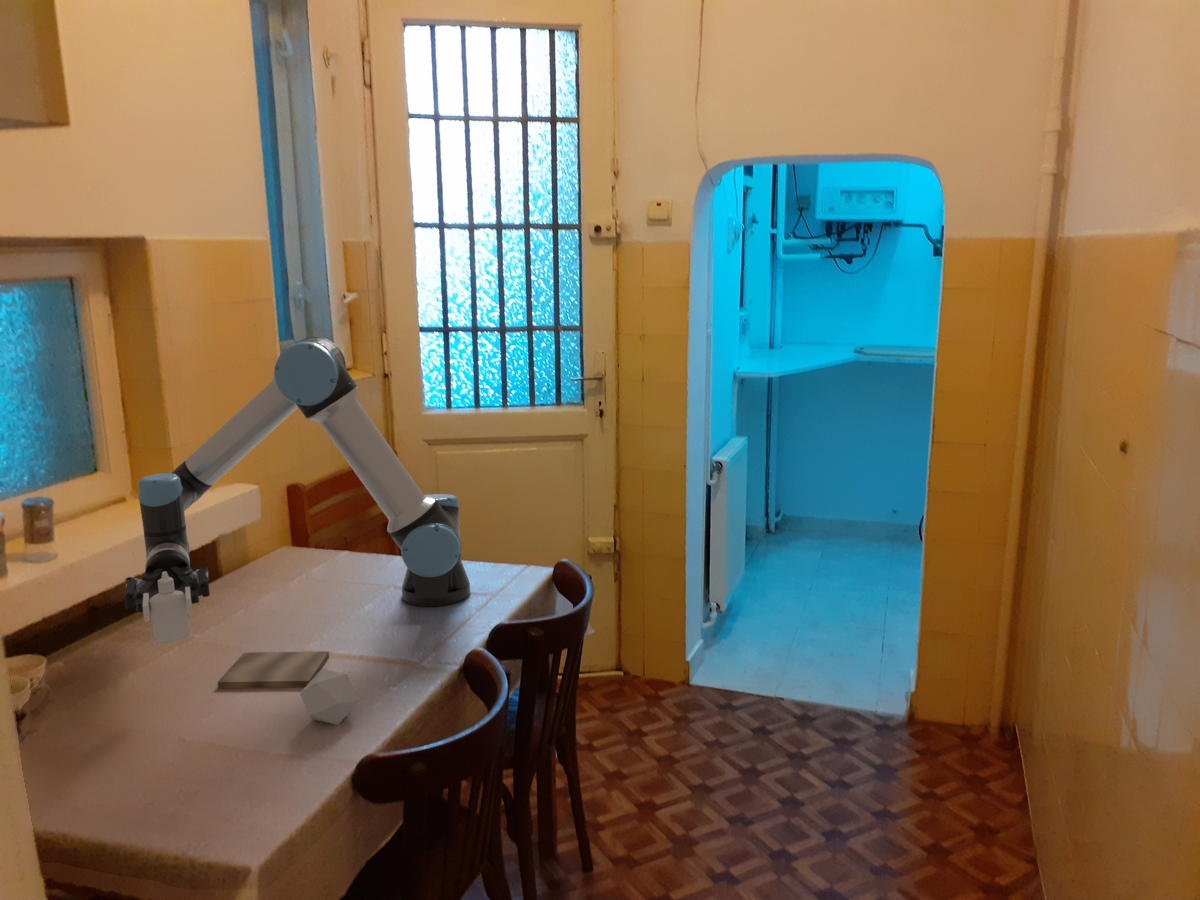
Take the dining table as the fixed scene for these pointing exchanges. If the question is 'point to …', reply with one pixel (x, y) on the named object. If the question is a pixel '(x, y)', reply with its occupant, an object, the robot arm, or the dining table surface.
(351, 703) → the die
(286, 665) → the walnut board
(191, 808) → the dining table surface
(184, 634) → the eye dropper bottle
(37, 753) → the dining table surface
